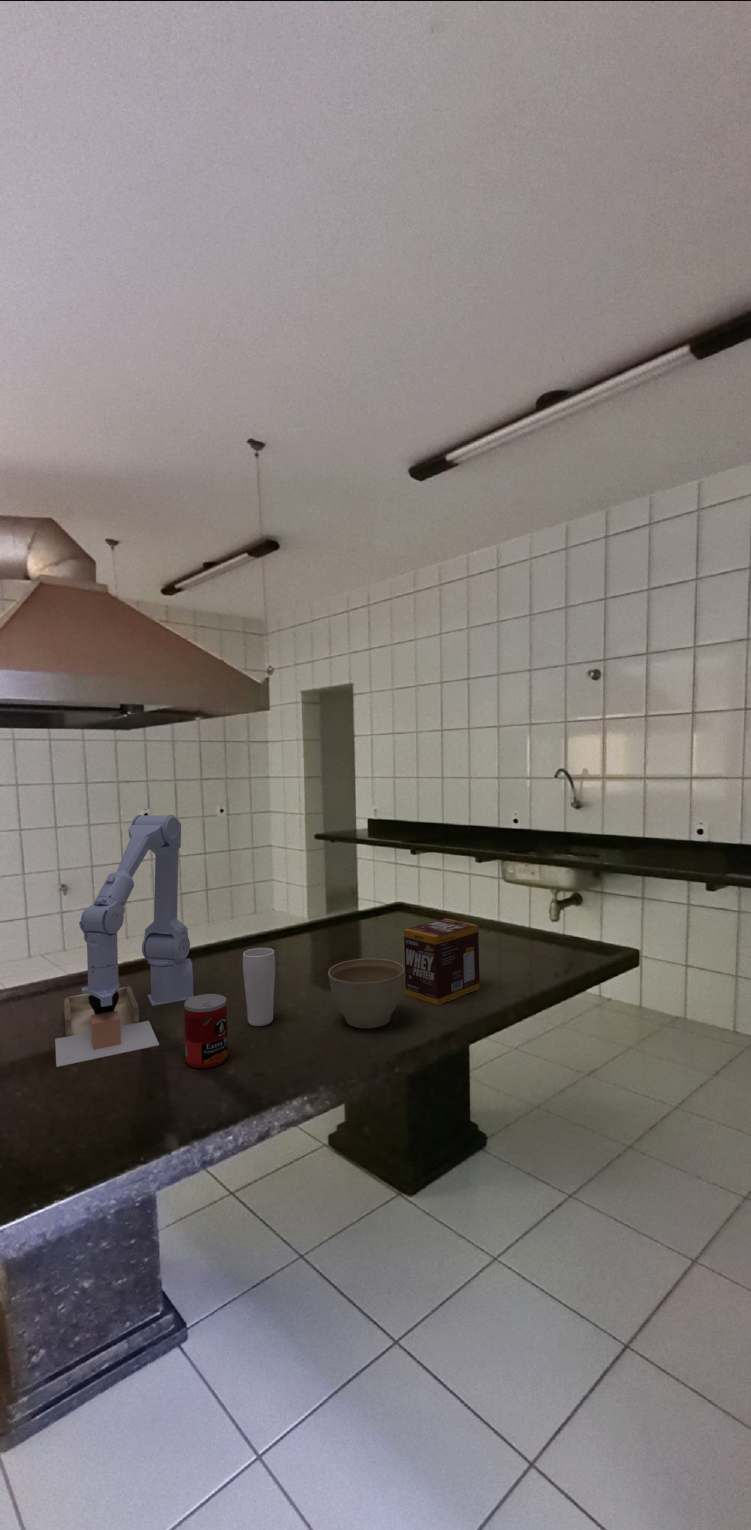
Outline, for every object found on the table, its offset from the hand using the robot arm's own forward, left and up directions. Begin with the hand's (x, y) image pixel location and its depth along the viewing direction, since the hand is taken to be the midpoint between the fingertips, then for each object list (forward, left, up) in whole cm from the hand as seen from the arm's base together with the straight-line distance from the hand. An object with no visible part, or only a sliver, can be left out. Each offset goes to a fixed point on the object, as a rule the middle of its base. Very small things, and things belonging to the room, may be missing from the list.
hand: (104, 1030), depth 131 cm
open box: (0, -10, -1) cm, 10 cm away
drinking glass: (-30, +9, -2) cm, 31 cm away
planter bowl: (-50, +20, -2) cm, 54 cm away
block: (0, +4, -1) cm, 4 cm away
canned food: (-16, +21, -2) cm, 26 cm away
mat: (0, +4, -1) cm, 4 cm away
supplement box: (-73, +14, -2) cm, 74 cm away
